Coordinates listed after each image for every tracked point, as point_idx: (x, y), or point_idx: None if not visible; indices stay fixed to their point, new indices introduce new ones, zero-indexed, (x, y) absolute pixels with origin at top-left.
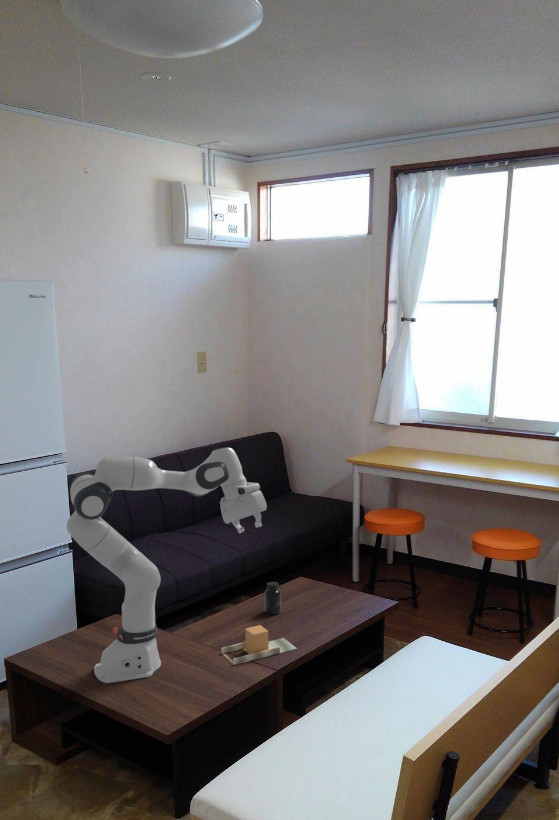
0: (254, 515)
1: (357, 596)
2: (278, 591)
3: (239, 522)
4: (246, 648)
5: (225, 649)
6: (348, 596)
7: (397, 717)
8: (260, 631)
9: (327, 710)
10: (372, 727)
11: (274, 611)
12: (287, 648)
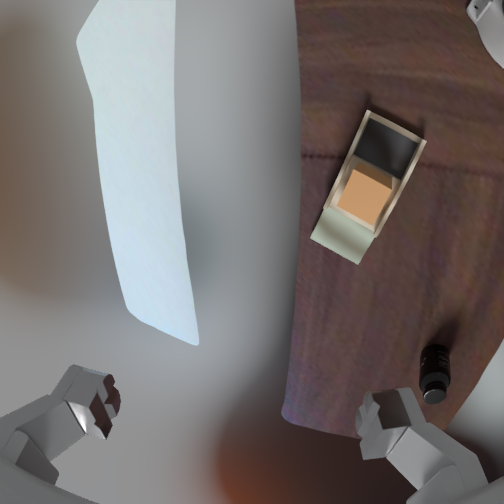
0: (8, 448)
1: (333, 427)
2: (422, 385)
3: (409, 499)
4: (388, 178)
5: (419, 146)
6: (345, 425)
7: (117, 155)
8: (351, 194)
9: (168, 108)
10: (122, 119)
11: (427, 351)
12: (324, 228)
